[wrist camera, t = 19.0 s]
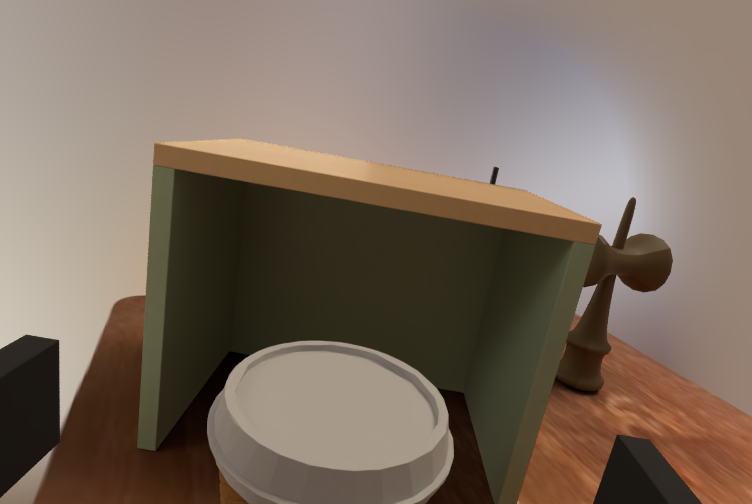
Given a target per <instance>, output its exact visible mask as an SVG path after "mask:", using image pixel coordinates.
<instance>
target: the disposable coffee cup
mask: <svg viewBox="0 0 752 504" xmlns="http://www.w3.org/2000/svg"><path fill="white" fill-rule="evenodd" d="M207 435H208V440H209V446H210V449H211V451H212V453H213V455H214V457H215V459H216V464H217V466H218V468H219V469H220V470H219V479H220V481H221V482H220V484H219V486H220V494H221V497H220V504H426V503H427V502H428V500H429V499H430V497H431V496H433V495H434V493H435V492H436V491H437V490H438V489H439V488H440V487H441V486H442V484H443V483H444V482H445V480H446V478H447V476H448V474H449V471H450V468H451V465H452V461H453V458H454V446H453V437H452V435H451V432H450V430H449V421H448V411H447V408H446V405H445V402H444V399H443V397H442V396H441V394H440V393H439V391H438V390H437V388H436V387H435V386H434V385H433V384H432V383H430V382H429V381H428V380H427V379H426V378H425V377H424V376H423V375H422V374H421V373H420V372H418V371H417V370H416V369H414V368H412V367H411V366H409V365H407V364H406V363H404V362H402V361H400V360H398V359H396V358H394V357H392V356H389V355H387V354H385V353H382V352H379V351H376V350H373V349H369V348H366V347H362V346H357V345H352V344H347V343H342V342H330V341H298V342H291V343H284V344H279V345H275V346H271V347H268V348H265V349H263V350H260V351H258V352H256V353H254V354H252V355H250V356H248V357H247V358H245V359H244V360H243V361H242V362H240V363H239V364H238V365H237V366H236V367H235V368H234V369H233V371H232V372H231V373H230V375H229V377H228V380H227V382H226V384H225V387H224V389H223V390H222V391H221V392H220V393H219V395H218V396H217V397H216V399H215V401H214V403H213V404H212V406H211V408H210V411H209V415H208V420H207Z"/></svg>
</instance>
